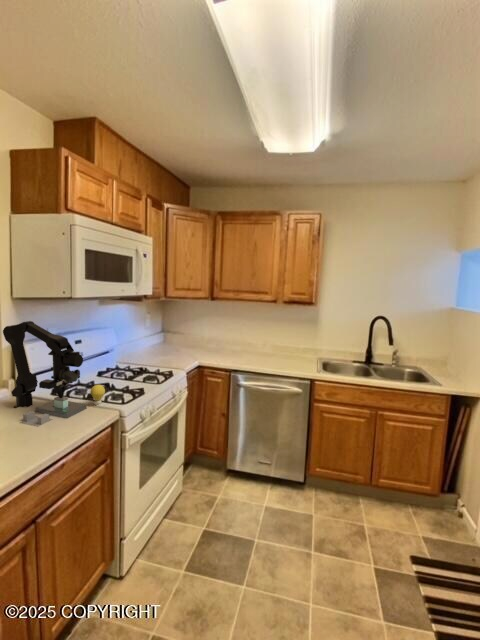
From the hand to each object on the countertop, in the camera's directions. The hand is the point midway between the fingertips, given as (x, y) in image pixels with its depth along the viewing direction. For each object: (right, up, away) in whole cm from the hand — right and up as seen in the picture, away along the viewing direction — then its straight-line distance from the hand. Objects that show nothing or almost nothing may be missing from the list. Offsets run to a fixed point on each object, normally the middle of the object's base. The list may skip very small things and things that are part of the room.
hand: (61, 397), depth 164 cm
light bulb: (+12, -6, +12) cm, 18 cm away
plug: (0, -7, +1) cm, 7 cm away
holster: (-5, -8, -11) cm, 15 cm away
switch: (0, -7, +1) cm, 7 cm away
